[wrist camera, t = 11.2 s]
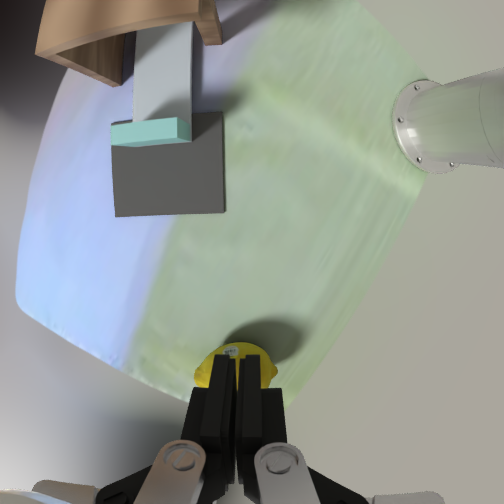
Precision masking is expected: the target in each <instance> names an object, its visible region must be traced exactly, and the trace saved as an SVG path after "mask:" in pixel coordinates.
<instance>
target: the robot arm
mask: <svg viewBox="0 0 504 504" xmlns="http://www.w3.org/2000/svg"><path fill="white" fill-rule="evenodd" d="M398 119H399V122H398ZM392 124H393V131H394V134H395V137H396V141H397V143H398V145H399V147H400V149H401V150H402V152H403V153H404V155H405V156H406V158H407V159H408V160H409V161H410V162H411V163H412V164H414V165H415V166H416V167H418V168H419V169H421V170H423V171H425V172H430V173H436V174H442V173H447V172H450V171H452V170H454V169H455V168H457V167H458V166H459V165H460V164H469V165H479V166H488V167H497V168H504V67H503V68H500V69H496V70H492V71H488V72H485V73H481V74H478V75H474V76H471V77H467V78H464V79H461V80H458V81H454V82H451V83H448V84H445V85H441V84H439V83H436V82H434V81H428V80H422V81H417V82H414V83H411V84H409V85H408V86H406V87H405V88H404V89H403V90H401V92H400V93H399V95H398V96H397V98H396V100H395V103H394V107H393V112H392ZM236 460H237V470H238V481H239V484H243V485H244V495H245V496H246V497H248V498H249V499H250V500H251V501H253V502H254V503H255V504H445V502H444V499H443V498H442V497H441V496H440V495H439V494H438V493H435V492H428V491H426V492H418V493H409V494H408V493H407V494H394V495H375V496H374V497H373V498H364V497H363V496H361V495H360V494H357V493H355V492H353V491H351V490H350V489H348V488H346V487H344V486H342V485H340V484H338V483H336V482H334V481H332V480H331V479H329V478H327V477H325V476H323V475H322V474H320V473H318V472H316V471H315V470H313V469H311V468H310V467H308V466H307V465H306V462H305V459H304V456H303V455H302V453H301V451H300V450H299V449H298V448H296V447H295V446H293V445H291V444H288V443H287V435H286V425H285V416H284V406H283V397H282V389H281V388H261V368H260V354H250V355H246V356H245V358H240V362H239V376H238V390H237V378H236V360H235V358H230V355H229V354H215V355H214V360H213V365H212V371H211V376H210V381H209V386H208V388H204V387H194V388H193V390H192V394H191V398H190V402H189V406H188V410H187V414H186V418H185V422H184V427H183V431H182V435H181V439H180V440H176V441H173V442H170V443H168V444H166V445H165V446H163V448H162V449H161V450H160V452H159V454H158V456H157V458H156V460H155V462H154V464H153V465H151V466H149V467H147V468H145V469H143V470H141V471H138V472H136V473H134V474H132V475H130V476H128V477H125V478H124V479H121V480H119V481H116V482H114V483H112V484H110V485H107V486H106V487H104V488H102V489H98V488H96V487H95V486H89V485H80V484H72V483H65V482H58V481H52V480H42V481H40V482H37V483H36V484H35V485H34V487H33V489H32V491H28V490H21V489H3V490H0V504H216V500H217V499H219V498H220V497H222V496H223V495H225V491H228V484H234V479H235V478H234V477H235V462H236Z"/></svg>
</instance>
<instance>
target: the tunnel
mask: <svg viewBox="0 0 504 504" xmlns="http://www.w3.org/2000/svg"><path fill="white" fill-rule="evenodd" d="M191 21H195V23H196V25H197V28H198V30H199V32H200V34H201V37H202V39H203V41H204V43H205V46H208V45H222V28H221V25H220V21H219V17H218V13H217V9H216V6H215V2H214V0H46V4H45V8H44V12H43V16H42V20H41V25H40V30H39V35H38V40H37V46H36V52H35V54H36V55H38V56H41V57H44V58H46V59H49V60H51V61H54V62H56V63H59V64H61V65H64V66H66V67H68V68H71V69H73V70H76V71H78V72H80V73H83V74H85V75H87V76H89V77H92V78H94V79H96V80H98V81H101V82H103V83H105V84H107V85H109V86H112V87H117V86H121V83H122V65H123V52H124V41H125V33H127V32H131V31H136V30H141V29H146V28H151V27H157V26H162V25H169V24H175V23H183V22H191Z"/></svg>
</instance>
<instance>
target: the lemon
mask: <svg viewBox="0 0 504 504" xmlns="http://www.w3.org/2000/svg"><path fill="white" fill-rule="evenodd" d="M215 354H229V355H230V358H235V360H236V378H237V390H238V376H239V362H240V358H245V356H246V355H250V354H260V368H261V388H268V387H269V385H270V382H271V379H272V378H273V377H275V376H276V375H277V373H278V370H277V367H276V366H275V365H274V364H273V363H272V362H271V360H270V358H269V355H268V354H267V353H266V351H264V350H263V349H262V348H260V347H258V346H256V345H253V344H250V343H246V342H236V343H230V344H226V345H223V346H221V347H219V348H217V349H216V350H214V351H213V352H212V353H210V354H209V355H208V356H207V357H206V358H205V360H204V361H203V362H202V364H201V365H200V366H199V367H198V368H197V369H196V370H195V373H194V380H195V383H196V385H197V386H199V387H204V388H208V386H209V381H210V376H211V371H212V365H213V360H214V355H215Z"/></svg>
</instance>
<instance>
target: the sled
mask: <svg viewBox="0 0 504 504" xmlns="http://www.w3.org/2000/svg"><path fill="white" fill-rule="evenodd" d="M192 47H193V21H191V22H183V23H175V24H169V25H162V26H157V27H151V28H146V29H141V30H137V36H136V48H135V62H134V81H133V122H132V123H125V124H119V125H113V126H111V145H116V146H129V147H141V146H151V145H161V144H172V143H185V142H192Z"/></svg>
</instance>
